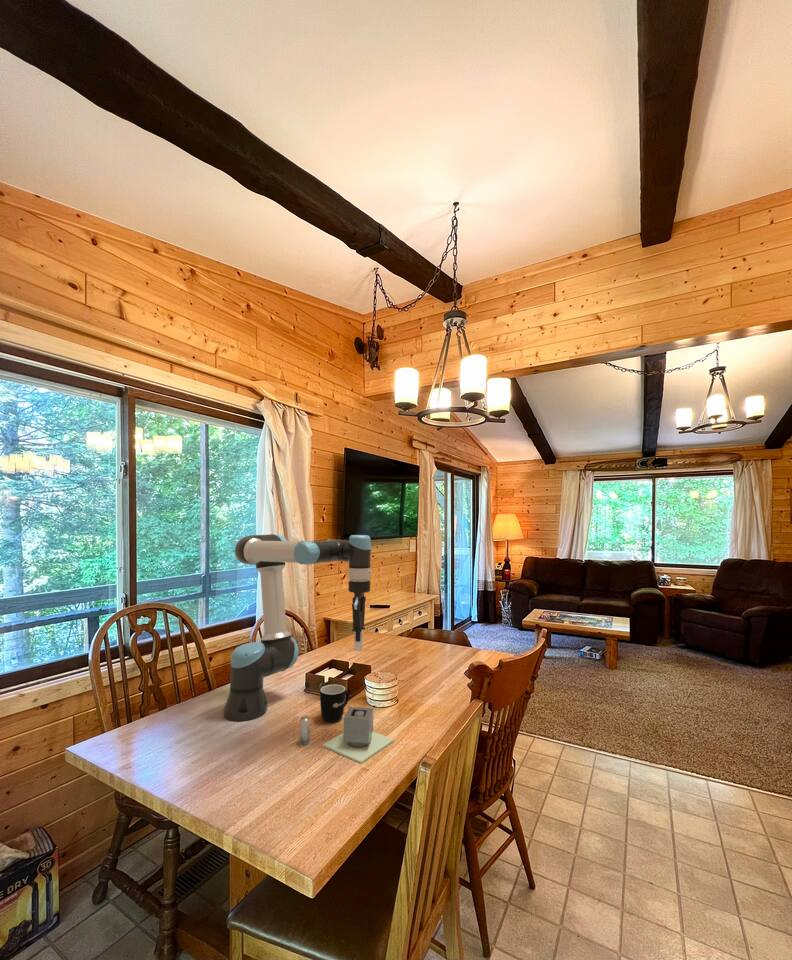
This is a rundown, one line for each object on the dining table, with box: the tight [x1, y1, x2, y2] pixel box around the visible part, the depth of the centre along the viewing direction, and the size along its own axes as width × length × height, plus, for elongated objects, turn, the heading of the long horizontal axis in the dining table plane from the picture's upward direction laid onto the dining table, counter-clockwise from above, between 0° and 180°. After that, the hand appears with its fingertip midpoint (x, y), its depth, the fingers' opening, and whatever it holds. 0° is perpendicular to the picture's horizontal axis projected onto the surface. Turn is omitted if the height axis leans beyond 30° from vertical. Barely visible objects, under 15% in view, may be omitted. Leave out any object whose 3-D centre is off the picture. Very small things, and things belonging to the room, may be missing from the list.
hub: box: [322, 711, 395, 765], centre depth 138 cm, size 16×16×9 cm
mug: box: [319, 684, 349, 723], centre depth 156 cm, size 12×9×10 cm
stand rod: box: [299, 715, 311, 746], centre depth 138 cm, size 3×3×8 cm
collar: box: [343, 706, 374, 743], centre depth 138 cm, size 8×8×7 cm
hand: (358, 650), depth 148 cm, fingers closed
